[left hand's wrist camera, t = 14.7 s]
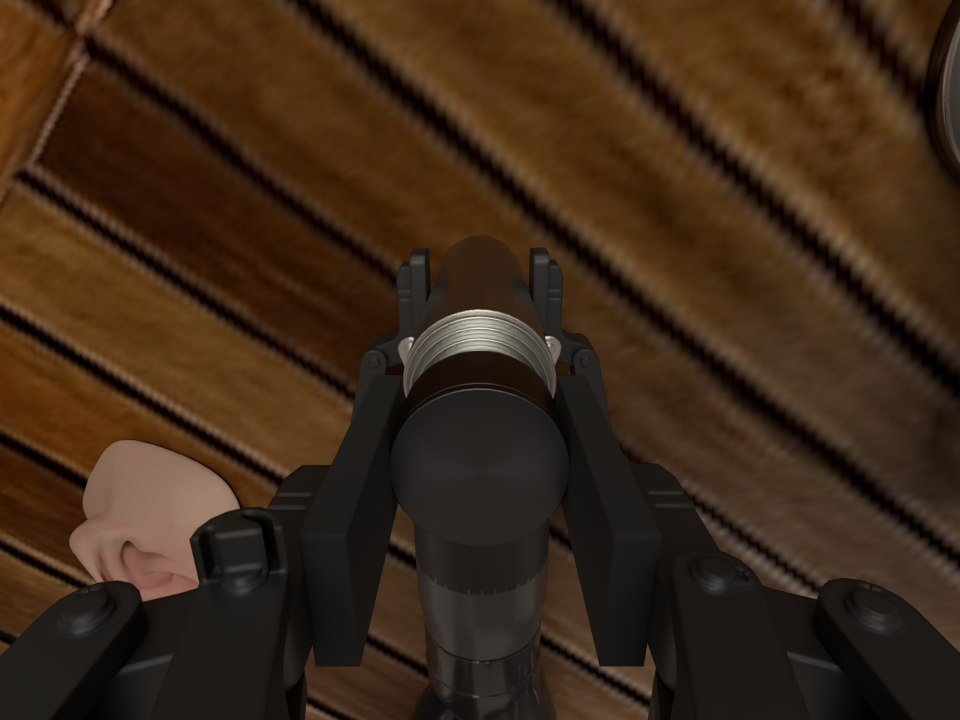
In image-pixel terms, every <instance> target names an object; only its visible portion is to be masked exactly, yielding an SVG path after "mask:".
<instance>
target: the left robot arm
mask: <svg viewBox="0 0 960 720" xmlns="http://www.w3.org/2000/svg"><path fill="white" fill-rule="evenodd" d="M927 107H928V117H929V124H930V129H931V133H932V137H933V140H934V143H935V146H936V149H937V151H938V153H939V155H940V157H941V159H942V161H943V162H944V164H945V165H946V167H947V168H948V170H949V171H950V172H951V173H952V174H953V176H954V177H955V178H956V179H957V180H958V181H959V182H960V0H955V1H954V3H953V5H952V7H951V8H950V10H949V12H948V15H947V17H946V19H945V22H944V24H943V26H942V29H941V31H940V34H939V37H938V40H937V43H936V46H935V50H934V54H933V58H932V62H931V67H930V73H929V80H928V92H927ZM403 407H404V393H403V375H374V377H373V379H372V381H371V383H370V385H369V387H368V389H367V391H366V394H365V396H364V398H363V400H362V402H361V404H360V406H359V408H358V410H357V412H356V414H355V417H354V419H353V421H352V423H351V425H350V427H349V429H348V431H347V433H346V435H345V437H344V440H343V442H342V444H341V446H340V448H339V450H338V452H337V454H336V456H335V458H334V460H333V462H332V465H302V466H301V467H299V468H298V469H297V470H295V471H294V472H293V473H291V474H290V475H289V476H287V477H286V478H285V479H284V480H283V482H282V484H281V485H280V487H279V489H278V490H277V492H276V494H275V497H273V499H272V500H271V502H270V504H269V505H268V509H265V508H261V507H244V508H240V509H235V510H231V511H227V512H225V513H222V514H220V515H218V516H215V517H213V518H211V519H209V520H208V521H207V522H205V523H204V524H202V525H201V526H200V527H198V528H197V529H196V531H195V532H194V533H193V535H192V536H191V537H190V539H189V541H190V545H191V550H192V554H193V558H194V563H195V567H196V571H197V576H198V580H199V585H198V587H197V588H195V589H192V590H189V591H185V592H182V593H178V594H174V595H170V596H165V597H161V598H157V599H152V600H148V601H144V602H143V601H142V597H141V593H140V590H139V589H138V588H137V587H136V586H134V585H133V584H132V583H129V582H124V581H119V580H116V581H107V582H99V583H96V584H93V585H90V586H87V587H84V588H81V589H78V590H76V591H75V592H73V593H71V594H69V595H67V596H65V597H63V598H61V599H60V600H58V601H57V602H56V603H55V604H53V605H52V606H51V607H50V608H48V609H47V610H46V611H45V612H43V613H42V614H41V615H40V616H39V617H38V618H37V619H36V620H35V621H34V622H33V623H32V625H31V626H30V627H29V628H28V629H27V630H26V631H25V632H24V633H23V634H22V635H21V636H20V637H19V638H18V639H17V640H16V641H15V642H14V643H13V644H12V645H11V646H10V647H9V648H8V649H7V650H6V651H5V652H4V653H3V654H2V655H1V656H0V720H305V711H306V701H307V683H306V676H305V670H304V668H305V665H306V662H307V659H308V656H309V653H310V650H311V647H312V644H313V650H314V657H315V664H316V666H360V664H361V659H362V655H363V651H364V647H365V642H366V638H367V634H368V630H369V625H370V621H371V617H372V612H373V608H374V604H375V600H376V595H377V591H378V587H379V583H380V578H381V574H382V570H383V565H384V561H385V557H386V553H387V548H388V544H389V540H390V536H391V531H392V527H393V523H394V518H395V514H396V510H397V506H398V501H397V499H396V497H395V495H394V492H393V489H392V485H391V471H390V450H391V447H392V444H393V440H394V437H395V434H396V430H397V427H398V424H399V420H400V417H401V414H402V411H403ZM556 409H557V412H558V416H559V419H560V422H561V426H562V429H563V432H564V436H565V439H566V442H567V445H568V449H569V454H570V466H569V481H568V487H567V491H566V493H565V495H564V497H563V500H562V501H561V503H562V507H563V511H564V516H565V520H566V524H567V528H568V533H569V537H570V541H571V545H572V550H573V554H574V558H575V563H576V567H577V571H578V575H579V580H580V584H581V588H582V592H583V597H584V601H585V605H586V610H587V614H588V618H589V622H590V627H591V631H592V635H593V639H594V644H595V648H596V652H597V657H598V661H599V665H600V666H644V661H645V654H646V648H647V643H648V646H649V649H650V651H651V654H652V657H653V660H654V663H655V666H656V670H655V676H654V683H653V689H652V696H651V702H650V708H649V715H648V720H960V653H959V652H958V651H957V650H956V649H955V648H954V647H953V646H952V645H951V644H950V643H949V642H948V641H947V640H946V639H945V638H944V637H943V636H942V635H941V634H940V633H939V632H938V631H937V630H936V629H935V628H934V627H933V626H932V625H931V624H930V623H929V622H928V621H927V620H926V619H925V618H924V617H923V616H922V615H921V614H920V613H919V612H918V611H917V610H916V609H915V608H914V607H912V606H911V605H910V604H909V603H907V602H906V601H905V600H904V599H902V598H901V597H900V596H898V595H896V594H894V593H892V592H890V591H888V590H886V589H884V588H883V587H881V586H878V585H875V584H871V583H868V582H865V581H862V580H856V579H847V578H840V579H835V580H829V581H828V582H827V583H825V584H824V585H823V586H822V587H821V588H820V592H819V595H818V599H813V598H809V597H804V596H800V595H796V594H791V593H787V592H783V591H779V590H775V589H772V588H769V587H765V586H763V585H762V584H761V582H760V580H759V579H758V577H757V576H756V574H755V573H754V571H753V570H752V569H751V568H749V567H748V566H747V565H746V564H745V563H743V562H742V561H741V560H739V559H737V558H735V557H733V556H731V555H729V554H727V553H725V552H721V551H720V550H719V548H718V546H717V545H716V543H715V542H714V540H713V538H712V537H711V535H710V533H709V532H708V530H707V528H706V527H705V525H704V523H703V522H702V520H701V518H700V517H699V515H698V514H697V512H696V510H695V509H694V508H692V504H691V502H690V500H689V499H688V497H687V495H685V494H684V490H683V489H682V487H681V485H680V484H679V482H678V481H677V479H676V477H675V476H674V475H672V474H671V473H670V472H668V471H667V470H666V469H664V468H663V467H662V466H660V465H659V464H628V463H627V461H626V459H625V457H624V455H623V453H622V451H621V449H620V447H619V444H618V442H617V440H616V438H615V436H614V434H613V432H612V430H611V428H610V426H609V424H608V421H607V419H606V417H605V415H604V413H603V411H602V409H601V407H600V405H599V403H598V401H597V398H596V396H595V394H594V392H593V390H592V388H591V386H590V384H589V382H588V380H587V378H586V375H557V387H556Z"/></svg>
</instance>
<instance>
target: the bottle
mask: <svg viewBox="0 0 960 720" xmlns="http://www.w3.org/2000/svg"><path fill="white" fill-rule="evenodd" d="M467 351H492V352H498V353H502V354H505V355H508V356H511V357H513V358H515V359H518V360H520V361H521V362H523V363H525V364H526V365H528V366H529V367H530V368H531V369H533V370H534V371H535V372H536V373H537V374H538V375H539V376H540V377H541V378H542V380H543V381H544V382H545V384H546V385H547V387H548V388H549V390H550V392H551V394H552V397H553V398H554V394H555V389H556V370H555V365H554V361H553V358H552V355H551V352H550V350H549V347H548V344H547V341H546V338H545V336H544V333H543V330H542V327H541V324H540V322H539V319H538V316H537V313H536V310H535V308H534V305H533V302H532V299H531V296H530V294H529V291H528V288H527V285H526V282H525V280H524V277H523V274H522V271H521V268H520V266H519V263H518V260H517V258H516V256H515V255H514V253H513V252H512V251H511V250H510V249H509V248H508V247H507V246H506V245H505V244H503V243H502V242H500V241H498V240H496V239H494V238H490V237H485V236H475V237H470V238H466V239H464V240H462V241H460V242H458V243H456V244H455V245H454V246H453V247H452V248H450V249H449V251H448V252H447V253H446V255H445V256H444V258H443V260H442V262H441V265H440V268H439V271H438V273H437V276H436V279H435V282H434V284H433V287H432V290H431V293H430V296H429V298H428V301H427V304H426V307H425V309H424V312H423V315H422V318H421V320H420V323H419V326H418V329H417V332H416V334H415V337H414V340H413V343H412V345H411V348H410V351H409V354H408V356H407V360H406V363H405V367H404V375H403V384H404V391H405V396H406V398H407V395H408V393H409V391H410V389H411V387H412V386H413V384H414V383H415V381H416V380H417V379H418V378H419V377H420V375H421V374H422V373H423V372H424V371H426V370H427V369H428V368H429V367H430V366H432V365H433V364H435V363H436V362H438V361H440V360H442V359H444V358H446V357H448V356H451V355H454V354H457V353H462V352H467Z"/></svg>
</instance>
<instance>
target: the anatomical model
mask: <svg viewBox="0 0 960 720" xmlns="http://www.w3.org/2000/svg"><path fill="white" fill-rule="evenodd" d="M83 509H84V512H85V515H86V517H87V519H88V520H87V521H86V522H84V523H83V524H81V525H80V526H79V527H78V528H77V529H76V530H75V531H74V532H73V533H72V535H71V537H70V541H69V543H70V547H71V549H72V551H73V552H74V554H75V555H76V556H77V558H78V559H79V560H80V562H81V563H82V564H83V565H84V567H85V568H86V569H87V570H88V572H89V573H90V574H91V575H92V577H93V578H94V579H95V580H96V582H97V583H99V582H107V581H116V580H119V581H124V582H129V583H132V584H133V585H134V586H136V587H137V588H138V589H139V590H140V593H141V597H142V601H143V602H144V601H148V600H152V599H157V598H161V597H165V596H170V595H174V594H178V593H182V592H185V591H189V590H192V589H195V588H197V587H198V585H199V580H198V576H197V571H196V567H195V563H194V558H193V554H192V550H191V545H190V541H189V539H190V537H191V536H192V535H193V533H194V532H195V531H196V529H197V528H198V527H200V526H201V525H202V524H204V523H205V522H207V521H208V520H209V519H211V518H213V517H215V516H218V515H220V514H222V513H225V512H227V511H231V510H235V509H240V506H239V504H238V501H237V499H236V497H235V495H234V493H233V492H232V490H231V489H230V487H229V486H228V485H227V484H226V483H225V481H224V480H222V479H221V478H220V477H219V476H218V475H217V474H215V473H214V472H213V471H211V470H210V469H208V468H206V467H205V466H203V465H201V464H200V463H198V462H196V461H194V460H192V459H190V458H187V457H185V456H183V455H180V454H178V453H175V452H173V451H170V450H167V449H164V448H162V447H159V446H156V445H152V444H148V443H144V442H140V441H135V440H121V441H117V442H115V443H113V444H111V445H110V446H109V447H108V448H107V449H106V450H105V452H104V453H103V454H102V455H101V457H100V459H99V460H98V462H97V464H96V466H95V468H94V469H93V471H92V473H91V475H90V477H89V480H88V483H87V486H86V489H85V493H84V497H83Z"/></svg>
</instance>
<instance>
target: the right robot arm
mask: <svg viewBox="0 0 960 720" xmlns="http://www.w3.org/2000/svg"><path fill="white" fill-rule="evenodd" d="M396 282H397V297H398V312H399V330H398V331H396V332H394V333H391V334H389V335H378V336H376V337H374V338H373V340H372V341H371V343H370V346H369V348H368V350H367V351H366V352H365V353H364V355H363V357H362V360H361V366H360V372H359V378H358V384H357V390H356V396H355V401H354V407H353V413H352V419H351V423H352V421H353V419H354V417H355V414H356V412H357V410H358V408H359V406H360V404H361V402H362V400H363V398H364V396H365V394H366V391H367V389H368V387H369V385H370V383H371V381H372V379H373V377H374V375H389V373H390V367H391V366H394V365H397V364H400V363H403V364H404V366H405V363H406V360H407V356H408V354H409V351H410V348H411V345H412V343H413V340H414V337H415V334H416V332H417V329H418V326H419V323H420V320H421V318H422V315H423V312H424V309H425V307H426V304H427V301H428V298H429V296H430V293H431V284H430V261H429V249H428V248H423V249H413V250H412V252H411V253H410V261H404V262H403V263H402V265H401V266H400V268H399V271H398V274H397V277H396ZM562 286H563V275H562V273H561V270H560V267H559V265H558V264H557V262H556V261H555V260H549V253H548V251H547V250H546V248H530V262H529V294H530V296H531V299H532V302H533V305H534V308H535V310H536V313H537V316H538V319H539V322H540V324H541V327H542V330H543V333H544V336H545V338H546V341H547V344H548V347H549V350H550V352H551V355H552V358H553V361H554V365H555V364H556V361H558V362H561V363H564V364H567V365H570V370H571V375H586V378H587V380H588V382H589V384H590V386H591V388H592V390H593V392H594V394H595V396H596V398H597V401H598V403H599V405H600V407H601V409H602V411H603V413H604V415H605V417H606V419H607V421H608V424H609V426H610V428H611V423H610V418H609V412H608V407H607V402H606V397H605V391H604V386H603V381H602V375H601V370H600V365H599V360H598V356H597V354H596V352H595V351H594V349H593V347H592V346H591V344H590V342H589V340H588V339H587V337H586V336H584V335H583V334H573V333H570V332H567V331H564V330H563V329H562V328H561V308H562ZM611 430H612V428H611ZM414 534H415V550H416V565H417V580H418V591H419V597H420V601H421V606H422V609H423V614H424V624H425V641H426V657H427V668H428V674H429V678H430V681H431V683H430V684H429V685H428V686H427V687H426V688H425V690H424V691H423V693H422V694H421V696H420V698H419V699H418V701H417V703H416V705H415V707H414V710H413V712H412V714H411V716H410V719H409V720H558V718H557V714H556V711H555V707H554V704H553V701H552V698H551V695H550V692H549V689H548V685H547V682H546V678H545V675H544V672H543V669H542V666H541V664H540V661H539V650H540V627H541V612H542V607H543V603H544V598H545V593H546V582H547V561H548V537H549V518H548V519H547V520H546V521H545V522H544V523H543V524H542V525H541V526H539V527H538V528H536V529H535V530H534V531H532V532H530V533H528V534H527V535H525V536H522V537H520V538H518V539H515V540H512V541H509V542H506V543H501V544H496V545H486V546H472V545H464V544H458V543H454V542H450V541H447V540H444V539H442V538H439V537H437V536H435V535H433V534H431V533H429V532H427V531H426V530H424V529H423V528H421V527H420V526H419V525H418V524H416V523H415V522H414Z"/></svg>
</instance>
